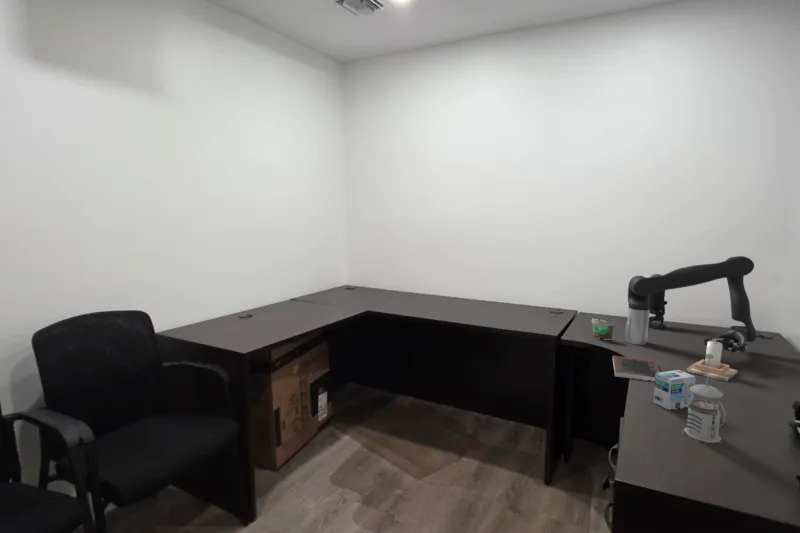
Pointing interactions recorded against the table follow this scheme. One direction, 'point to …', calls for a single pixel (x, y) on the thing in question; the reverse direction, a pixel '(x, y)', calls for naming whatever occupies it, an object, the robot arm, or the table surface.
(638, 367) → the picture frame
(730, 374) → the roll holder
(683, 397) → the light bulb box
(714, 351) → the paper roll
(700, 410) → the french press
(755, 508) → the table surface
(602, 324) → the food container
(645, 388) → the table surface
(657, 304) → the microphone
